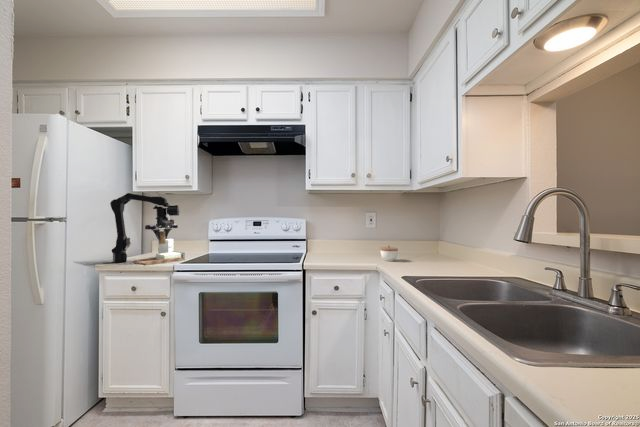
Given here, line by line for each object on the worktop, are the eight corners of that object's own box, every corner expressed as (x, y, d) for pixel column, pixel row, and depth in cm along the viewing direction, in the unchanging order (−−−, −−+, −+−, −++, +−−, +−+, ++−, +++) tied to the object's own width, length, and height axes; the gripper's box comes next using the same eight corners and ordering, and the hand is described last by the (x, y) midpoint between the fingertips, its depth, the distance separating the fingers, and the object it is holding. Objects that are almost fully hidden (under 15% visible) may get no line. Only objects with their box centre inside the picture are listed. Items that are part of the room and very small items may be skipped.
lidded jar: (400, 261, 188) (400, 246, 189) (384, 262, 186) (384, 246, 186) (393, 259, 199) (393, 244, 199) (377, 259, 197) (377, 245, 197)
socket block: (164, 260, 190) (164, 255, 190) (155, 259, 197) (155, 254, 197) (181, 258, 199) (181, 253, 199) (172, 257, 206) (172, 252, 206)
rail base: (146, 265, 180) (146, 256, 180) (135, 263, 188) (135, 255, 188) (184, 260, 199) (184, 252, 200) (173, 258, 208) (173, 251, 208)
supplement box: (168, 258, 210) (168, 239, 210) (157, 258, 210) (157, 239, 210) (173, 256, 217) (173, 238, 217) (163, 256, 217) (163, 238, 217)
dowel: (160, 244, 196) (160, 231, 196) (157, 243, 198) (157, 231, 198) (166, 243, 199) (166, 231, 199) (163, 243, 202) (163, 231, 202)
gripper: (153, 216, 187) (153, 241, 187) (182, 215, 202) (182, 239, 202) (144, 216, 193) (145, 241, 193) (173, 215, 208) (173, 238, 208)
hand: (162, 239), depth 199 cm, fingers closed on dowel, 4 cm apart
